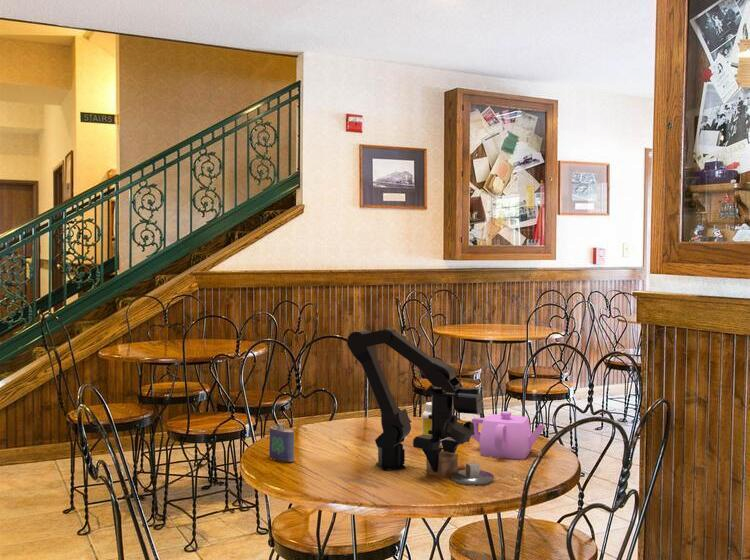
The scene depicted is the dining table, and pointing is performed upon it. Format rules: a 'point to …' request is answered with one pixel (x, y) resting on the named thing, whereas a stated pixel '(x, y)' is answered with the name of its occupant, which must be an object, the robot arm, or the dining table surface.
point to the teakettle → (505, 435)
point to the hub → (472, 475)
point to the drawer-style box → (444, 464)
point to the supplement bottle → (427, 420)
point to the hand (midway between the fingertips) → (442, 469)
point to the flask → (281, 443)
